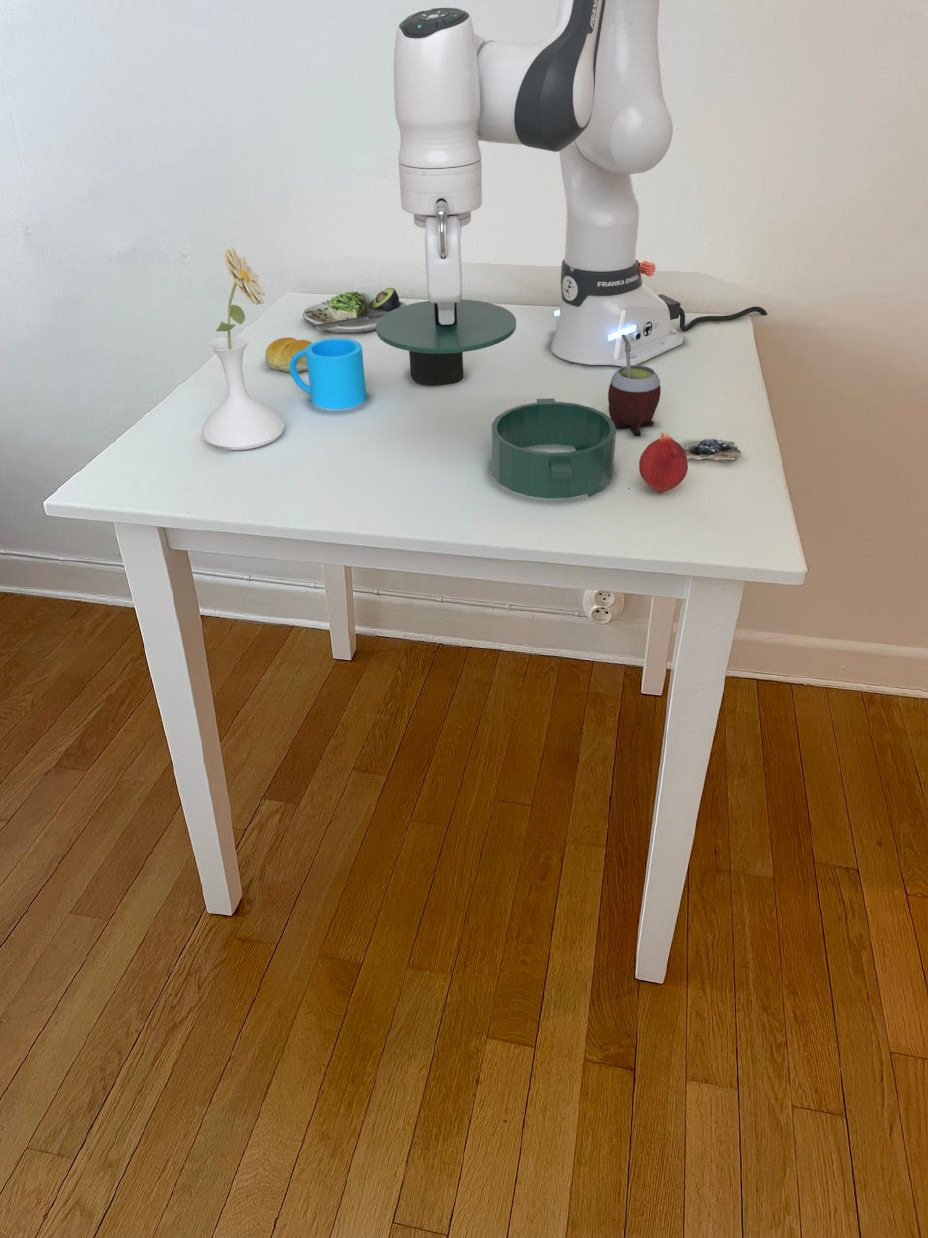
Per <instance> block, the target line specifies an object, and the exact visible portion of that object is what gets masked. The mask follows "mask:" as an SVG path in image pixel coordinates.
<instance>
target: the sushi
mask: <svg viewBox="0 0 928 1238" xmlns="http://www.w3.org/2000/svg"><path fill="white" fill-rule="evenodd" d="M408 353H409V354H408V356H409V370H410V371H409V372H410V373H409V374H410V377H411V379H412V380H413V381H414V382H415V383H416V384H419V385H421V386H430V387H431V386H432V387H433V386H435V387H436V386H445V385H452V384H456V383H459V382H460V381H462V380H463V379H464V358H463V357H464V355H463V354H464V352H459V353H440V354H436V353H420V352H413V351H408Z"/></svg>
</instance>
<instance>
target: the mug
mask: <svg viewBox="0 0 928 1238" xmlns="http://www.w3.org/2000/svg"><path fill="white" fill-rule="evenodd" d="M304 355H306V360H307V368H308V370H307V375H308V384H309V385H308V384H307V383H306V382H305V381H303V379H302V377H301V376H300V375H299V372H297V369H296V368H297V362H298V360H299V358H301V357H302V356H304ZM363 356H364V355H363V345H362V344H361V343H360V342H359V341H356V340H355V339H350V338H343V337H342V338H340V337H335V338H334V337H333V338H332V337H331V338H326V339H320V340H317V341H314V342H312V344H310V345H309V346H308V347H306V349H305V350H302V351H299V352H298V353H296V354H295V355H294V356H293V357H292V360H291V362H290V372H289V374H290V376H291V378H292V379H293V381H294V383H295V384H296V386H298V387H300V389H301V390H302V391H305V392H306V393H308V394H309V395H310V398H311V403H312V405H315V406H316V407H318V408H321V409H324V410H325V409H326V410H344V409H350V408H353V407H356V406H359V405H361V404H362V403H364V402H367V392H366V391H367V389H366V379H365V378H366V377H365V369H364V368H365V367H364V357H363Z"/></svg>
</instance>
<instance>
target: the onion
mask: <svg viewBox="0 0 928 1238" xmlns="http://www.w3.org/2000/svg"><path fill="white" fill-rule="evenodd" d="M688 463H689V461H688V459H687V456H686V453H685V451H684V449H683V446H682V445H681V444H680V443H679V442H678V441H676V439H674V438H672V437H671V436H670V435H669V433H668V432H666V431H665V432H664V431H663V432H661V433H660V438H657V439H655V440H654V441H652V442H650V443H649V444H648V445H647V446H646V448H645V449H644V450H643V452H641V455H640V457H639V461H638V469H639V470H638V471H639V475H640V477H641V478H642V480H643V481H644V482H645V483H646V484H647V485H648V486H649V487H650V488H651V489H653V491H654V492H655V493H658V494H662V493H665V492H667V491H670V490H673V489H675V488H676V487H677V486H678V485H680V484H681V483H682V482H683V481H684V480H685V478H686V476H687V474H688V470H689V468H688V467H689V464H688Z"/></svg>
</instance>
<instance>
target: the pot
mask: <svg viewBox="0 0 928 1238" xmlns="http://www.w3.org/2000/svg"><path fill="white" fill-rule="evenodd" d="M616 436H617V430H616V427H615V425H614V422H613V421H612V420H611V418H610V416H608V415H607V414H606V413H604V412H602V411H600V410H598V409H595V408H594V407H591V406H587V405H582V404H579V403H573V402H564V401H556V399H555V398H550V397H549V398H536V402H532V403H526V404H521V405H517V406H514V407H512V408H509V409H506V410H505V411H503V412H501V413H500V414H499V415H497V416H496V417H495V419H494V420H493V422H492V423H491V474H492V476H493V478H494V479H495V481H497V483H499V484H500V486H503V487H504V488H506V489H508V490H510V491H511V492H514V493H518V494H521V495H524V496H527V497H531V498H532V497H533V498H541V499H570V498H575V497H580V496H585V495H587V498H589V497H591V496H594V495H597V494H599V493H600V492H601V491H603V490H604V489H605V488H606V487H607V486H609V484H610V482H611V480H612V476H613V473H614V462H615V450H616V438H617V437H616ZM539 445H540V446H545V445H558V446H566V447H573V448H575V450H573V451H564V452H563V451H562V452H561V451H559V452H547V451H539V450H531V449H527V448H528V447H535V446H539Z"/></svg>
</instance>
